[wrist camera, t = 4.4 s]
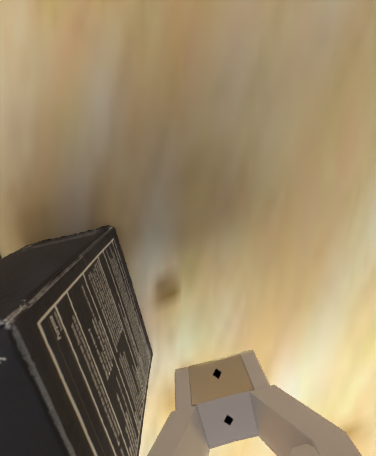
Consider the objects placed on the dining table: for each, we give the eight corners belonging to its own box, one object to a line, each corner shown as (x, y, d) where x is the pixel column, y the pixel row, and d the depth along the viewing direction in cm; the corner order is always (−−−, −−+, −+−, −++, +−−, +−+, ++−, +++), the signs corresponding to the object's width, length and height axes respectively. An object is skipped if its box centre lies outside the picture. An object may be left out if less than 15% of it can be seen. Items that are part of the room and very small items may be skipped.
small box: (17, 245, 16) (-263, 376, 6) (115, 222, 16) (14, 310, 6) (71, 375, 18) (-56, 632, 8) (155, 354, 18) (135, 582, 8)
